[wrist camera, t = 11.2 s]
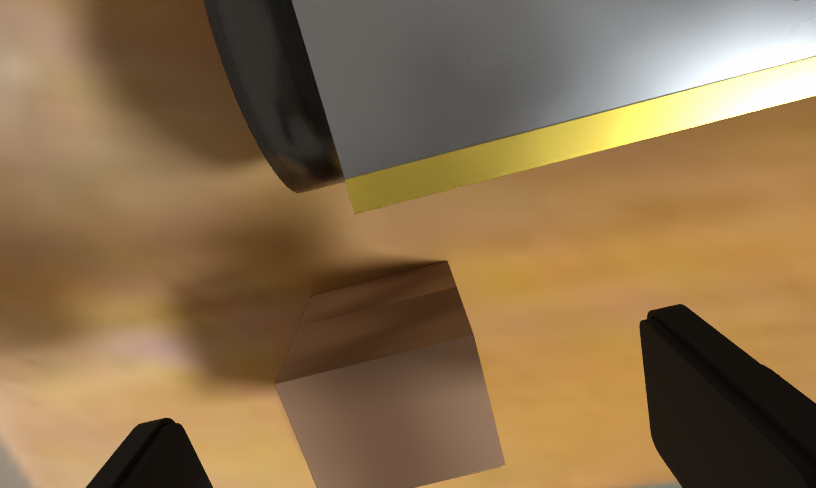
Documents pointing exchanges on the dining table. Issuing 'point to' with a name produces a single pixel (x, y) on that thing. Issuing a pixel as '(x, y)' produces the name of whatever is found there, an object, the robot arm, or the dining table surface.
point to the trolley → (493, 81)
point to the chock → (389, 385)
